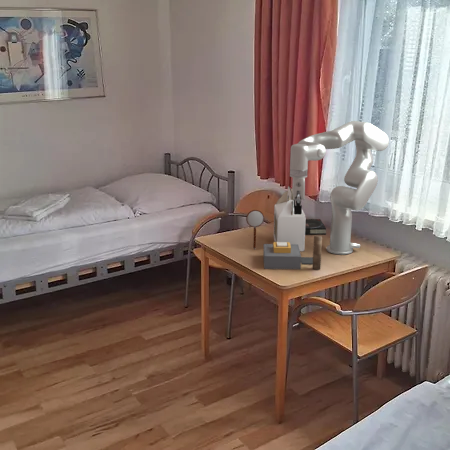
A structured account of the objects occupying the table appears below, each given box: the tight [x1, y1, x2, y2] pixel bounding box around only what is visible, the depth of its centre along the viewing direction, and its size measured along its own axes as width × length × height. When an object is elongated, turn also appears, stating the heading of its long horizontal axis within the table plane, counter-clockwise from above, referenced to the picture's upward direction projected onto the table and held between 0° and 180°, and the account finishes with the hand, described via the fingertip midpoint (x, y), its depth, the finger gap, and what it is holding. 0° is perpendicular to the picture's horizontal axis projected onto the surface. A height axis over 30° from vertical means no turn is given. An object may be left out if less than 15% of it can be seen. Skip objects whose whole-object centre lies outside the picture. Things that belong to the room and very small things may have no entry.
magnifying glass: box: [245, 209, 265, 250], centre depth 263 cm, size 9×2×20 cm, turn 97°
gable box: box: [273, 185, 307, 252], centre depth 269 cm, size 22×13×28 cm, turn 179°
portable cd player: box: [305, 218, 327, 236], centre depth 295 cm, size 16×17×4 cm
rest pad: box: [301, 256, 313, 266], centre depth 250 cm, size 8×8×1 cm
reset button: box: [277, 242, 287, 247], centre depth 247 cm, size 4×4×6 cm
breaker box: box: [262, 241, 302, 270], centre depth 248 cm, size 16×16×8 cm
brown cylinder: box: [312, 235, 323, 271], centre depth 239 cm, size 4×4×15 cm
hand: (297, 211), depth 241 cm, fingers open, 9 cm apart
